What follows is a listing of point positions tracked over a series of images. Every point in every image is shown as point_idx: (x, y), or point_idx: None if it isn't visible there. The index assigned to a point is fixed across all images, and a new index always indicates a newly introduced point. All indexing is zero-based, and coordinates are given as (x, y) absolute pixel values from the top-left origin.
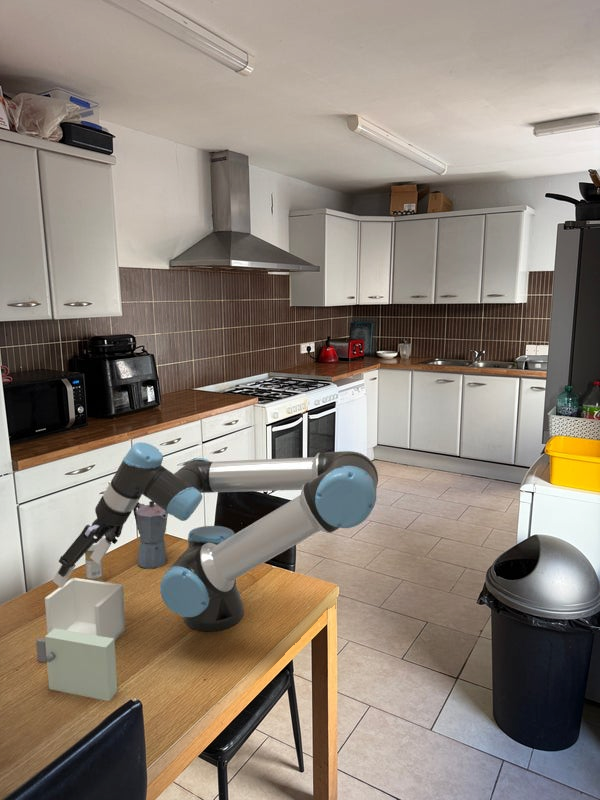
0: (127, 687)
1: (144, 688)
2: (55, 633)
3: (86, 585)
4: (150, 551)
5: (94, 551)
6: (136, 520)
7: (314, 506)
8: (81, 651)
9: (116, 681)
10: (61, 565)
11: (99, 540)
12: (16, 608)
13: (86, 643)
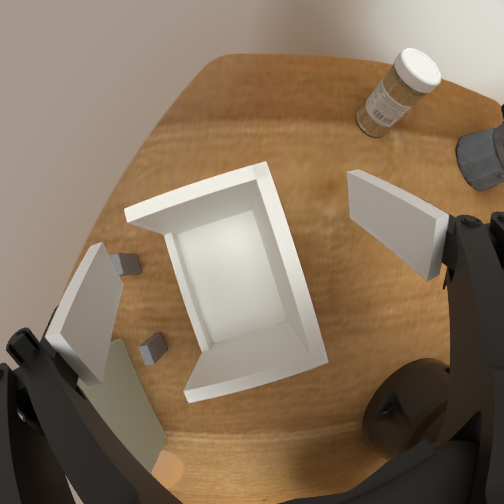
0: (182, 443)
1: (197, 461)
2: None
3: (272, 232)
4: (488, 167)
5: (370, 187)
6: None
7: None
8: None
9: (162, 446)
10: (61, 304)
11: (437, 78)
12: (223, 66)
13: None
